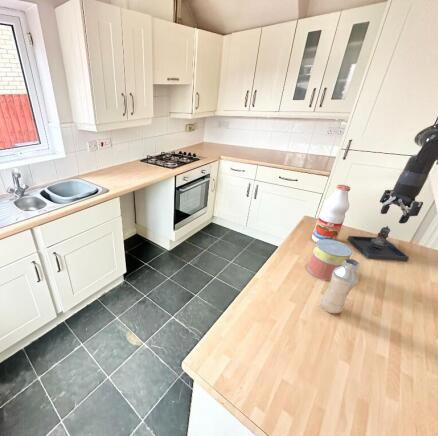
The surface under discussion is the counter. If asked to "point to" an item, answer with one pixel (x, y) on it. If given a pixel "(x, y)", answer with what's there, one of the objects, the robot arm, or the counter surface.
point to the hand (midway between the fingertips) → (392, 218)
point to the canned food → (328, 258)
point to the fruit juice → (332, 215)
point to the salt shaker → (380, 240)
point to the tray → (387, 254)
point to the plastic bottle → (340, 286)
